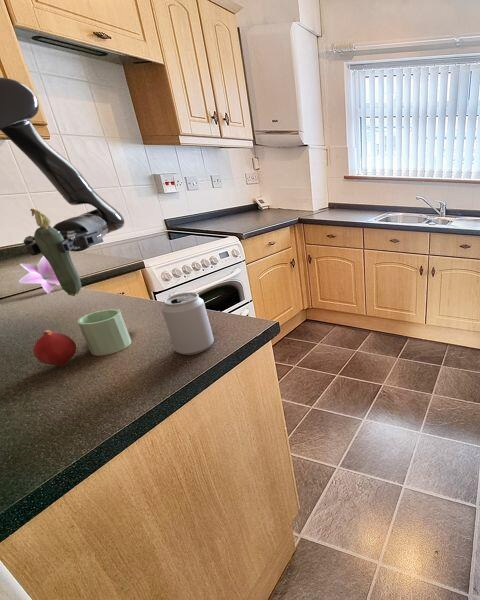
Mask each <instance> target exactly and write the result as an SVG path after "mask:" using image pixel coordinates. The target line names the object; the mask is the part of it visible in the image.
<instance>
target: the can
mask: <svg viewBox="0 0 480 600" xmlns="http://www.w3.org/2000/svg"><path fill="white" fill-rule="evenodd" d="M161 312H162V315H163V318H164V322H165V324H166V327H167V331H168V333H169V337H170V340H171V343H172V345H173V349H174V351H175V352H176V353H178V354H181V355H184V356H191V355H193V356H194V355H197V354H200V353H203V352H205V351H207V350H208V349H210V347H211V346H212V345H213V344H214V341H215V338H214V334H213V331H212V326H211V323H210V320H209V317H208V312H207V308H206V304H205V301H204V299H203V298H201V297H200V296H199V294H198V293H197V292H192V291H188V292H186V291H185V292H180V293H176V294H172V295H169V296H167V297H165V298H164V299H163V306H161Z"/></svg>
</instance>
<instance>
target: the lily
mask: <svg viewBox="0 0 480 600" xmlns="http://www.w3.org/2000/svg"><path fill="white" fill-rule="evenodd" d="M19 265H20V266H21V267H22V268H24V270H26V271H27V272H28V273H27V274H25V275H24V276H22V277H21V278H20V279H19V280H18V283H19V284H40V285H41V287H42V289H43V290H44V292H45V293H46V294H50V293H51V292H52V291H53V289H54V288H55V285H57V286H61V285H60V283H59V281H58V279H57V277H56V275H55V273H54V271H53V269H52V267H51V265H50V264H49V262H48V260H47V259H46V258H45V257H44V256H43V255H42V257H41V258H40V259H39V261H38V262H37V264H36V265H35V264H30V263H21V262H20V263H19Z"/></svg>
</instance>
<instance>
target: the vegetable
mask: <svg viewBox="0 0 480 600" xmlns="http://www.w3.org/2000/svg"><path fill="white" fill-rule="evenodd" d="M30 212H31V217H34V218H35V223H36V225H37V226H38V228H36V229H35V231H34V233H33V234H34V235H33V236H34V238H35V242H36V244H37V246H38V248H39V249H40V251H41V253H40V254H42V257H43V256H44V257H45V258H46V259H47V260H48V262H49V264H50V265H51V267H52V269H53V271H54V273H55V275H56V277H57V279H58V281H59V283H60V285H59V286H60V287H61V289H62V290H63V291H64V292H65V293H67V295H68V296H71V297H75V296H76V295H78V294H80V291H81V289H82V282H81V281H82V280H81V278H80V275H79V273H78V271H77V269H76V268H75V265H74V262H73V259H72V258H71V257H72V256H71V255H70V251H68V252H67V253H62V252H61V250H60V248H59V246H58V243H59V242H61V241H63V240H64V238H63V236H62V235H61V234H60V232H59V231H57V230H56V229H54V228H53V226H51V220H50V219H49V217H48V216H47V215H45V214H44V213H42V212H41V211H39V209H34V208H30Z"/></svg>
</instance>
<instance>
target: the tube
mask: <svg viewBox="0 0 480 600" xmlns="http://www.w3.org/2000/svg"><path fill="white" fill-rule="evenodd" d="M76 321H77V322H76V323H77V325H78V326H79V327H78V328H79V330H80V332H81V335H82V336H83V338H84V341H85V343H86V346H87V347H88V350H89V351H90V354H91V355H93V356H99V357H100V356H108V355H112V354H115V353H118V352H120V351H123V350H125V349H126V348H128V347H130V345H131V344H132V338H131V336H130V332H129V330H128V327H127V326H126V323H125V320H124V317H123V315H122V312H121V311H120V309H116V308H114V309H112V308H110V309H102V310H98V311H93V312H91V313H88V314H85V315H83V316H81V317H79V318H78V319H77V320H76Z"/></svg>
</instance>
